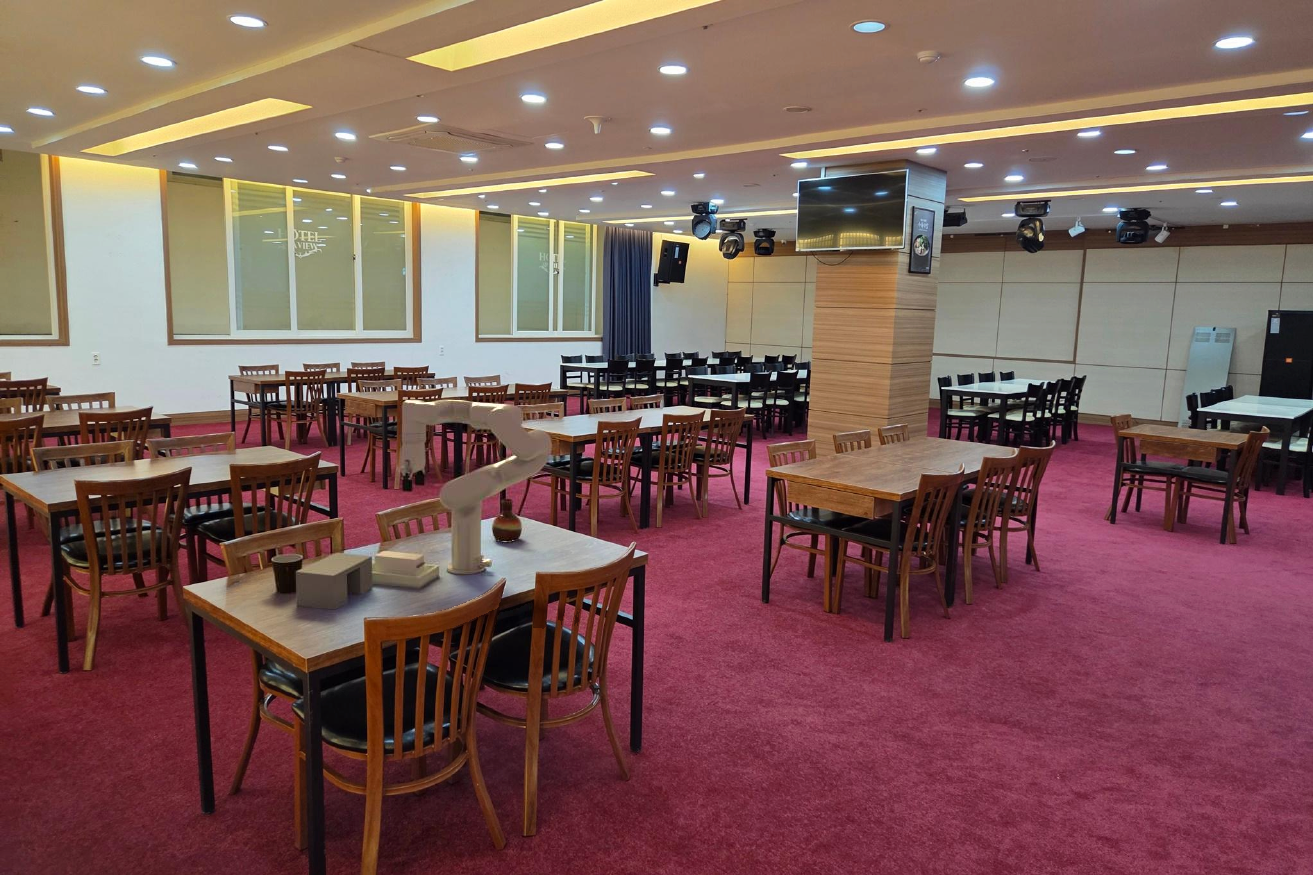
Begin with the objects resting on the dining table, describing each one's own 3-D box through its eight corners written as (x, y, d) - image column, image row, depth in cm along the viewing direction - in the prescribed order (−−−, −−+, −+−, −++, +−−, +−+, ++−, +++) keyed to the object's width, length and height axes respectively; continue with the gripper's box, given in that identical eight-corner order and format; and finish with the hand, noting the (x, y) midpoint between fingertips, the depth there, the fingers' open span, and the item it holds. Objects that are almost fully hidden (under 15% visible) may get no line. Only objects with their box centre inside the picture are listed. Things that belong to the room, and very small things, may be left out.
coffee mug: (281, 584, 254) (280, 553, 253) (308, 586, 254) (307, 554, 253) (262, 597, 243) (260, 564, 241) (291, 598, 243) (290, 566, 241)
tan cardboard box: (426, 576, 265) (426, 555, 264) (417, 581, 259) (417, 559, 258) (384, 571, 268) (384, 550, 267) (375, 576, 263) (374, 555, 262)
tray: (439, 576, 268) (439, 565, 267) (419, 588, 255) (419, 577, 255) (377, 569, 272) (377, 559, 272) (355, 581, 260) (355, 570, 259)
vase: (496, 535, 319) (497, 496, 317) (525, 536, 318) (525, 497, 316) (488, 542, 308) (488, 502, 306) (517, 544, 307) (517, 504, 305)
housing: (372, 587, 255) (371, 556, 253) (334, 609, 235) (333, 575, 234) (337, 583, 257) (336, 552, 256) (296, 605, 238) (295, 571, 236)
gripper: (414, 433, 283) (413, 482, 285) (391, 440, 266) (391, 492, 268) (435, 434, 282) (434, 483, 284) (413, 442, 265) (413, 494, 267)
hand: (413, 488), depth 276 cm, fingers open, 9 cm apart
